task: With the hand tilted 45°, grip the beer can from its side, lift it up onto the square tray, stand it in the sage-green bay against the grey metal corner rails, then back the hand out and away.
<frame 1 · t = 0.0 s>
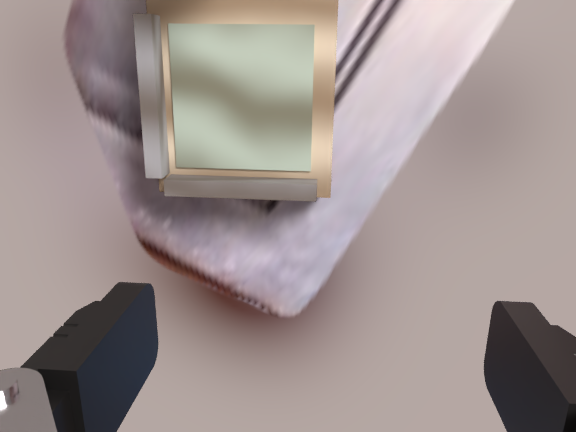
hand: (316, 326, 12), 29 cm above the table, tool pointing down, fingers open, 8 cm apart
square tray: (251, 95, 39), on the table
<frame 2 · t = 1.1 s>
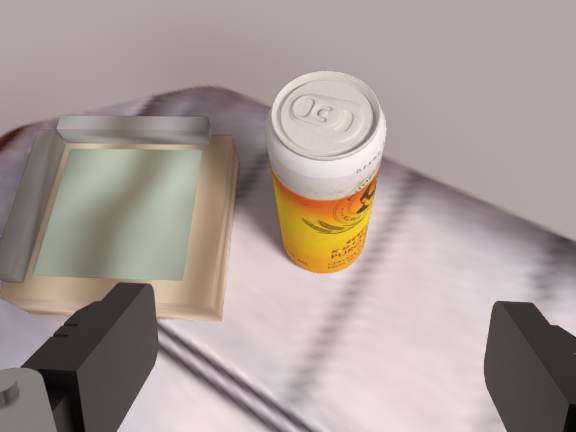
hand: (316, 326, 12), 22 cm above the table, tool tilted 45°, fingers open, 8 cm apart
beer can: (323, 240, 37), on the table
square tray: (141, 234, 38), on the table
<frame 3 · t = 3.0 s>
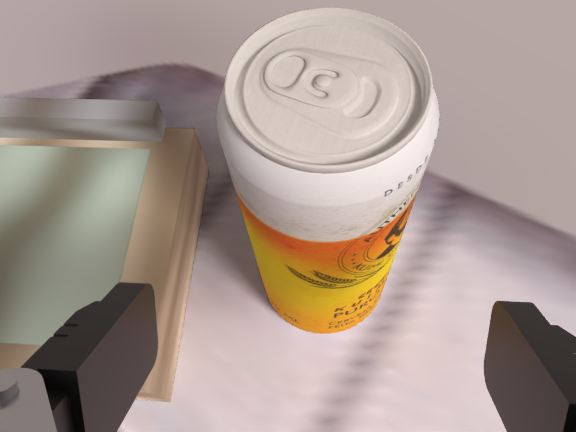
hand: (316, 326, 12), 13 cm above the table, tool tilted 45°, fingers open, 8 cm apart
beer can: (323, 280, 26), on the table
square tray: (65, 266, 27), on the table
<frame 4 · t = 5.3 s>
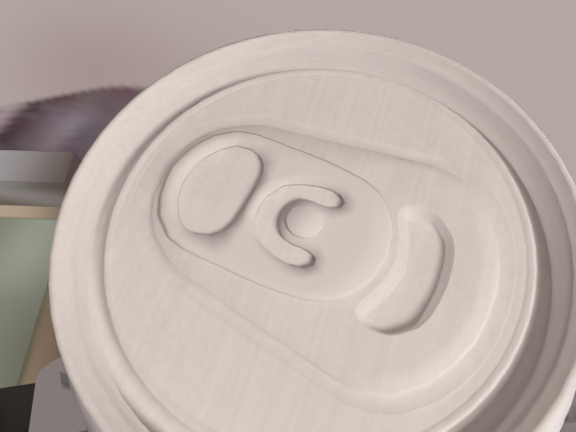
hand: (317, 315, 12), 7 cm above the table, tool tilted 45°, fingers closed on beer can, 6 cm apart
beer can: (316, 402, 18), on the table, touching gripper
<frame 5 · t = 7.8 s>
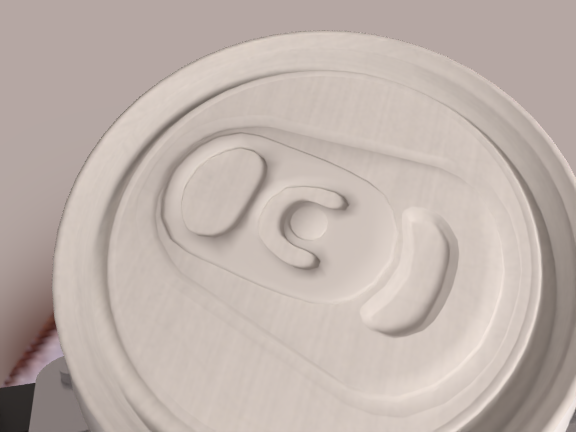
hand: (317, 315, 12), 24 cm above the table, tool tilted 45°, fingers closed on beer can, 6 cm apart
beer can: (317, 403, 18), point 16 cm above the table, touching gripper
when the fingers open (13 cm above the table, at t = 10.7 s): beer can stays where it is, resting on square tray.
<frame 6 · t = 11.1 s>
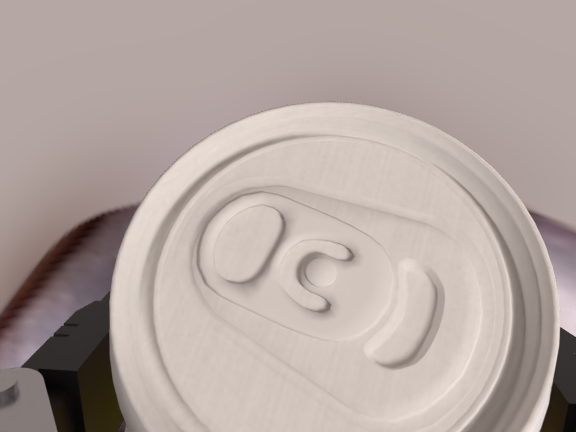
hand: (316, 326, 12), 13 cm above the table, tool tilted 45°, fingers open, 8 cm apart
beer can: (317, 413, 19), point 4 cm above the table, touching square tray
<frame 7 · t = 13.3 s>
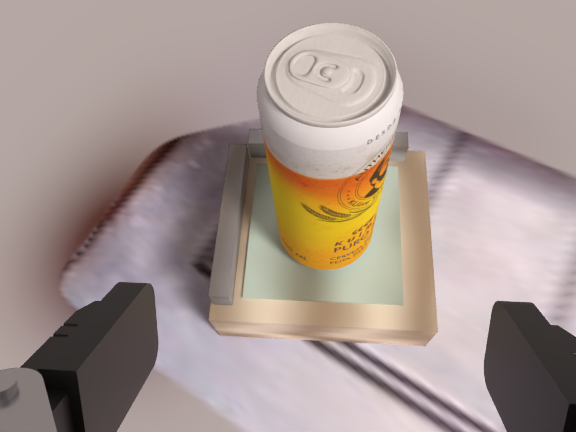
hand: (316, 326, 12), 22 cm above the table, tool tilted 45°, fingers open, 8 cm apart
beer can: (325, 232, 33), point 4 cm above the table, touching square tray
square tray: (323, 252, 37), on the table
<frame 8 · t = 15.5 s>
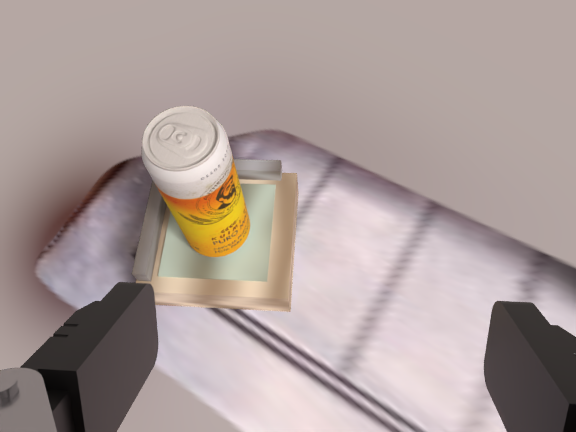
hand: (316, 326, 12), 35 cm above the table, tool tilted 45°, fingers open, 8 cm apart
beer can: (219, 231, 47), point 4 cm above the table, touching square tray
square tray: (226, 246, 51), on the table
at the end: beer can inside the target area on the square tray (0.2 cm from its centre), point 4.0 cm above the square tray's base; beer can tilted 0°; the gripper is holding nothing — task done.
